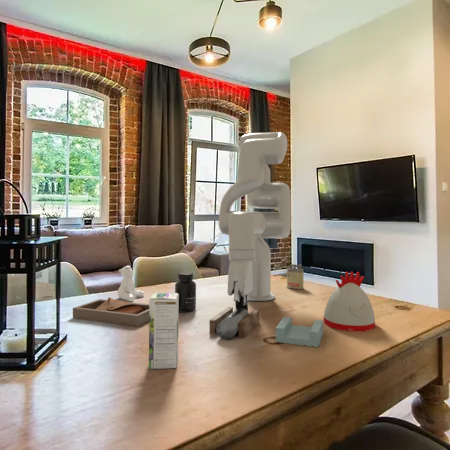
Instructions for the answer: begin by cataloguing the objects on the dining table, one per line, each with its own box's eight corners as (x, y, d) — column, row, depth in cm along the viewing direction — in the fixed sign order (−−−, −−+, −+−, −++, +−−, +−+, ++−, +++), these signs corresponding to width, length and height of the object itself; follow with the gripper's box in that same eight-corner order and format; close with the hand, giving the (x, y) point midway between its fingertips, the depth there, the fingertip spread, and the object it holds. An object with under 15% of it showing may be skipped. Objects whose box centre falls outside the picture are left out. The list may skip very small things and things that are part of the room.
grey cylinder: (231, 320, 105) (236, 305, 104) (246, 327, 104) (252, 312, 103) (214, 334, 93) (220, 317, 92) (230, 343, 91) (237, 325, 91)
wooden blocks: (228, 318, 110) (228, 307, 110) (259, 322, 106) (259, 310, 106) (209, 333, 97) (209, 320, 96) (244, 337, 93) (244, 324, 93)
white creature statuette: (131, 302, 130) (131, 268, 129) (110, 300, 132) (110, 267, 132) (145, 296, 139) (145, 264, 138) (125, 294, 141) (125, 263, 141)
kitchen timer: (385, 330, 99) (386, 275, 99) (337, 333, 97) (338, 276, 97) (358, 315, 113) (359, 267, 112) (316, 318, 111) (316, 268, 110)
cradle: (284, 329, 100) (284, 316, 99) (322, 334, 96) (323, 320, 96) (275, 341, 90) (275, 327, 90) (318, 347, 87) (318, 332, 87)
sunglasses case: (86, 312, 114) (96, 292, 116) (103, 319, 119) (112, 299, 121) (124, 323, 103) (134, 300, 106) (141, 330, 108) (150, 308, 111)
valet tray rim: (99, 308, 122) (99, 299, 121) (160, 315, 113) (160, 305, 113) (72, 317, 110) (72, 308, 110) (137, 326, 102) (137, 315, 102)
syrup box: (151, 358, 80) (151, 292, 80) (179, 357, 81) (178, 291, 80) (148, 369, 74) (147, 298, 74) (178, 368, 75) (177, 298, 74)
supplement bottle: (192, 313, 115) (192, 275, 115) (171, 312, 117) (171, 274, 116) (198, 307, 122) (198, 271, 121) (178, 306, 123) (178, 271, 123)
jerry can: (285, 288, 154) (285, 264, 153) (288, 286, 157) (288, 263, 156) (302, 289, 150) (302, 265, 150) (304, 288, 153) (305, 264, 153)
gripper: (237, 251, 114) (237, 310, 115) (220, 257, 100) (220, 324, 101) (261, 252, 111) (261, 312, 112) (246, 258, 97) (246, 327, 98)
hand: (241, 318), depth 107 cm, fingers closed
